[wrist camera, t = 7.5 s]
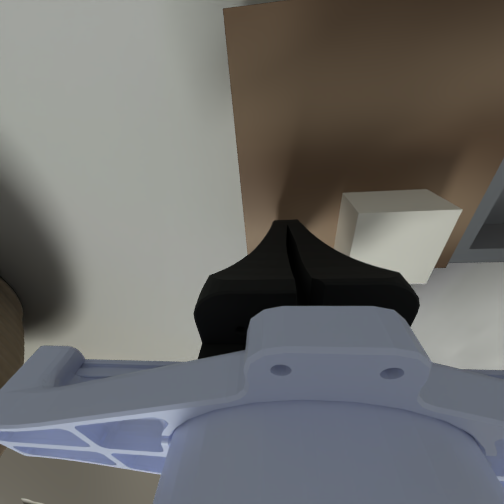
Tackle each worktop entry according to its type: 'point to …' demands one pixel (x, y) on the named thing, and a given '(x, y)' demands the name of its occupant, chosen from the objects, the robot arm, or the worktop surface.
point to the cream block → (396, 230)
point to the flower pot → (10, 336)
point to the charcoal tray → (485, 227)
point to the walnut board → (364, 105)
